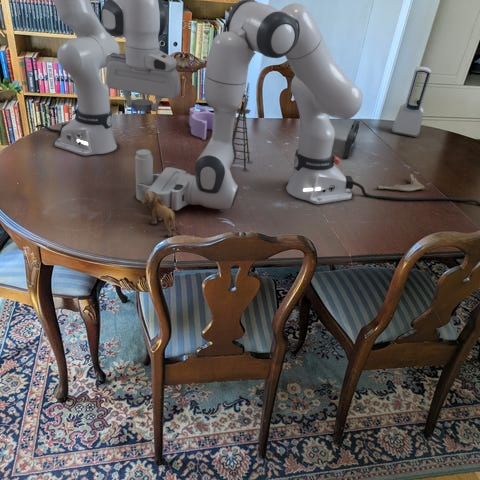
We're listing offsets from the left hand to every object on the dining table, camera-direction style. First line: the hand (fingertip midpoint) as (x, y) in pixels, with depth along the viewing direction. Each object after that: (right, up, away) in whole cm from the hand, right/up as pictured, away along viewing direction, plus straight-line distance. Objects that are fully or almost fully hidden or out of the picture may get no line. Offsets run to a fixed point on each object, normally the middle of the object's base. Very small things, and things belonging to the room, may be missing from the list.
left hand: (142, 108), depth 131 cm
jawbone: (+85, -17, +41) cm, 96 cm away
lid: (0, +1, -1) cm, 2 cm away
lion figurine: (+5, -33, +2) cm, 34 cm away
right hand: (-3, -19, +12) cm, 23 cm away
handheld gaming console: (+74, +1, +66) cm, 99 cm away
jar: (-3, -24, +15) cm, 28 cm away
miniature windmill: (+26, -9, +43) cm, 51 cm away
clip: (+12, +10, +69) cm, 71 cm away
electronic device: (+106, +14, +91) cm, 140 cm away
